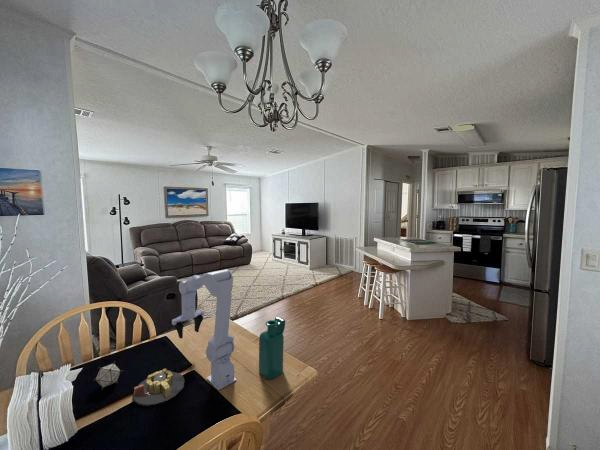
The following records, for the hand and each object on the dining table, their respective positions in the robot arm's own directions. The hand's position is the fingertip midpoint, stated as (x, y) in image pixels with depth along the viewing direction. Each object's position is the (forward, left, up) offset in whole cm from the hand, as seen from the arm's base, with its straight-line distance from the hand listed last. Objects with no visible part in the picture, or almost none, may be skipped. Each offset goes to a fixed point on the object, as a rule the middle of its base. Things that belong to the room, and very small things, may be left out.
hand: (188, 334), depth 120 cm
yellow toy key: (-16, +17, -8) cm, 25 cm away
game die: (+2, +30, -10) cm, 32 cm away
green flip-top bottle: (-36, -20, -10) cm, 42 cm away
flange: (-14, +17, -10) cm, 24 cm away
